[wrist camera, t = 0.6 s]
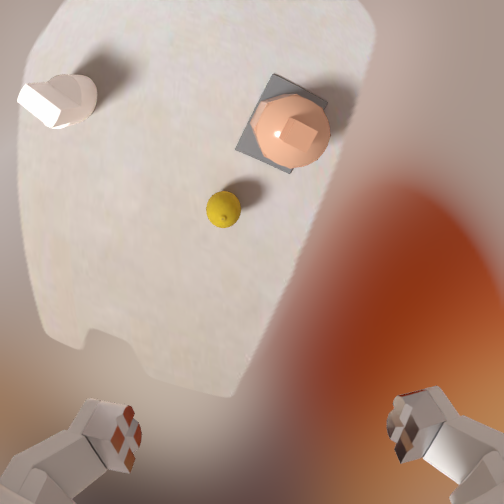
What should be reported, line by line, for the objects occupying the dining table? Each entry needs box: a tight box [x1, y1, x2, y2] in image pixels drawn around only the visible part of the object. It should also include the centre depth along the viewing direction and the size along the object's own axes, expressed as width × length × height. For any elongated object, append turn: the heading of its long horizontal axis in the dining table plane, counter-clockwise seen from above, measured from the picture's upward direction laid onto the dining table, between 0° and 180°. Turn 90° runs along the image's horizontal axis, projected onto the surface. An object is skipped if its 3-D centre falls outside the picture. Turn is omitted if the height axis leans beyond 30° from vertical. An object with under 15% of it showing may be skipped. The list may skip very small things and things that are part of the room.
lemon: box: [206, 191, 241, 228], centre depth 47 cm, size 6×6×8 cm
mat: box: [235, 74, 328, 174], centre depth 45 cm, size 14×10×1 cm
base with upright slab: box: [17, 74, 97, 129], centre depth 34 cm, size 9×9×12 cm
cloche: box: [250, 94, 331, 169], centre depth 38 cm, size 10×10×14 cm
